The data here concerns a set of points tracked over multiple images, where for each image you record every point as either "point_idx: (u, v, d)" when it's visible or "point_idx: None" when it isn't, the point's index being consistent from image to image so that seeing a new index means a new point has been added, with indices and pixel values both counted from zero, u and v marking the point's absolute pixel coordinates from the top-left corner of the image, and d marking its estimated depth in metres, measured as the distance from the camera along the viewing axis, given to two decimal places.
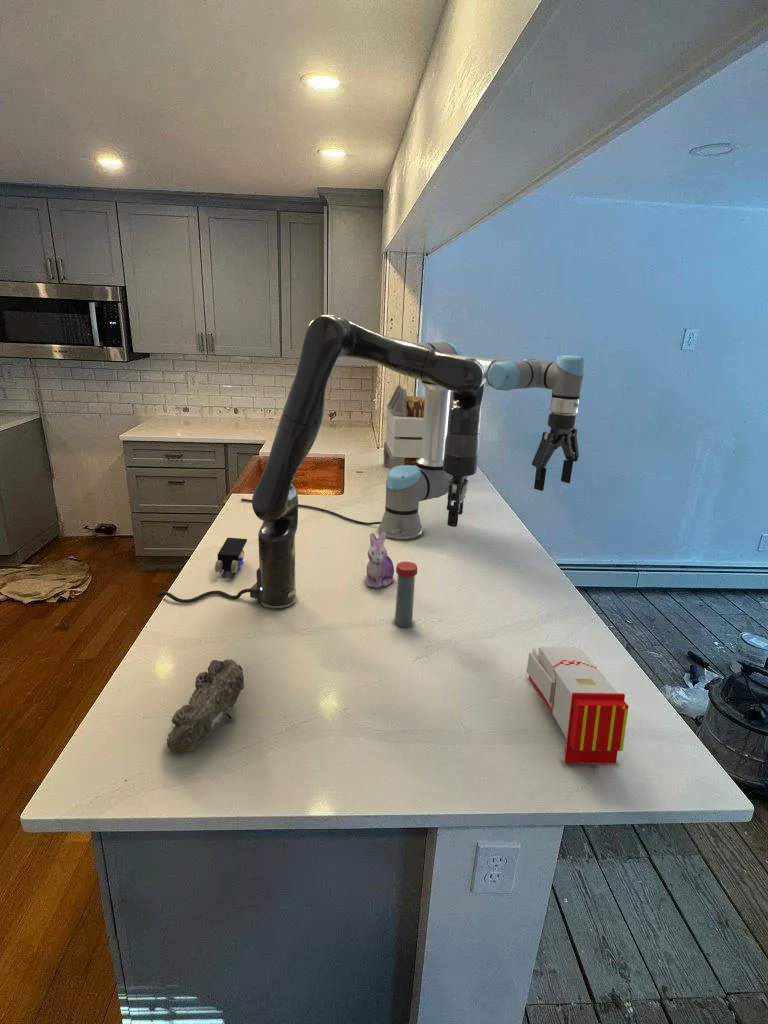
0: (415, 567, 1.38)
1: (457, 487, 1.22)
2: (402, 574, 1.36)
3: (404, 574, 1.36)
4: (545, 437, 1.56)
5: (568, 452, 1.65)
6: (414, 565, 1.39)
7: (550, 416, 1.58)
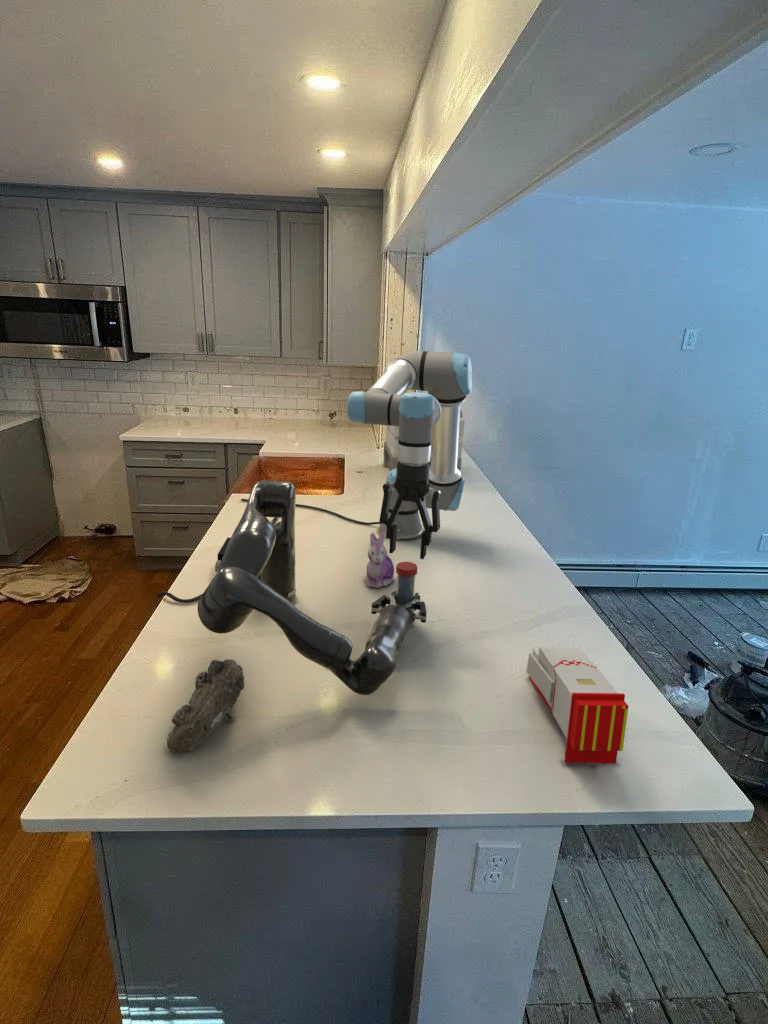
0: (415, 567, 1.38)
1: None
2: (402, 574, 1.36)
3: (404, 574, 1.36)
4: (438, 497, 1.30)
5: (398, 511, 1.35)
6: (414, 565, 1.39)
7: (424, 469, 1.27)
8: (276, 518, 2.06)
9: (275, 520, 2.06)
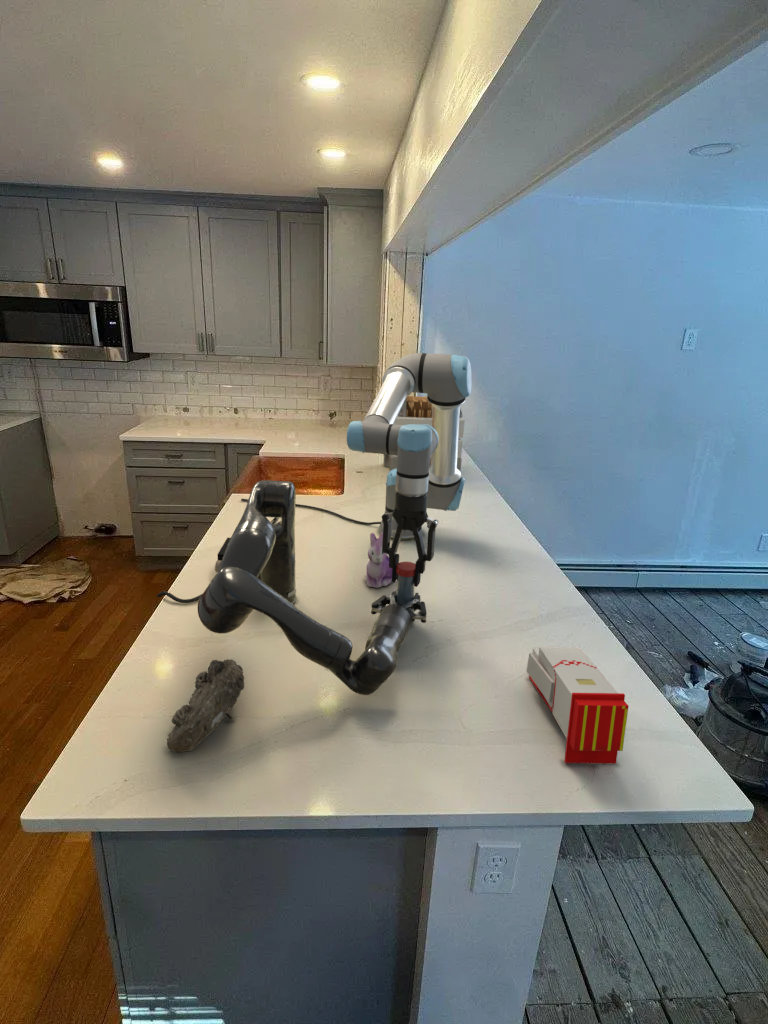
0: None
1: None
2: (402, 574, 1.36)
3: (404, 574, 1.36)
4: (435, 527, 1.32)
5: (399, 540, 1.37)
6: (414, 565, 1.39)
7: (422, 500, 1.30)
8: (276, 518, 2.06)
9: (275, 520, 2.06)
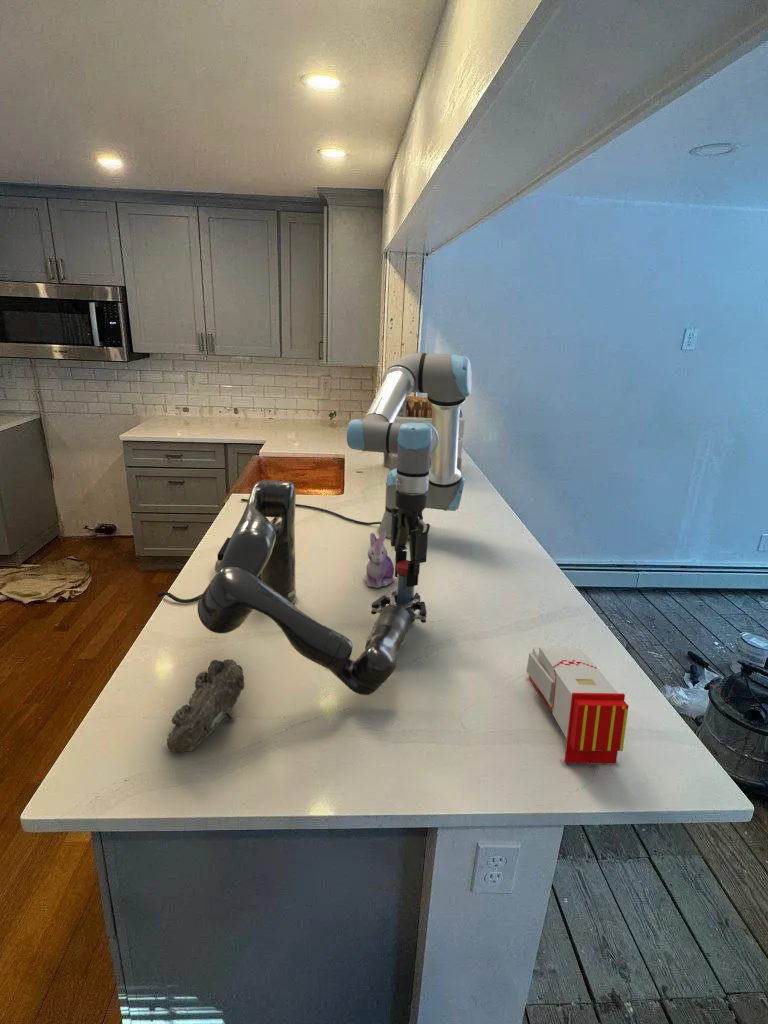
0: (402, 561, 1.40)
1: None
2: None
3: None
4: None
5: None
6: (400, 562, 1.39)
7: None
8: (276, 518, 2.06)
9: (275, 520, 2.06)
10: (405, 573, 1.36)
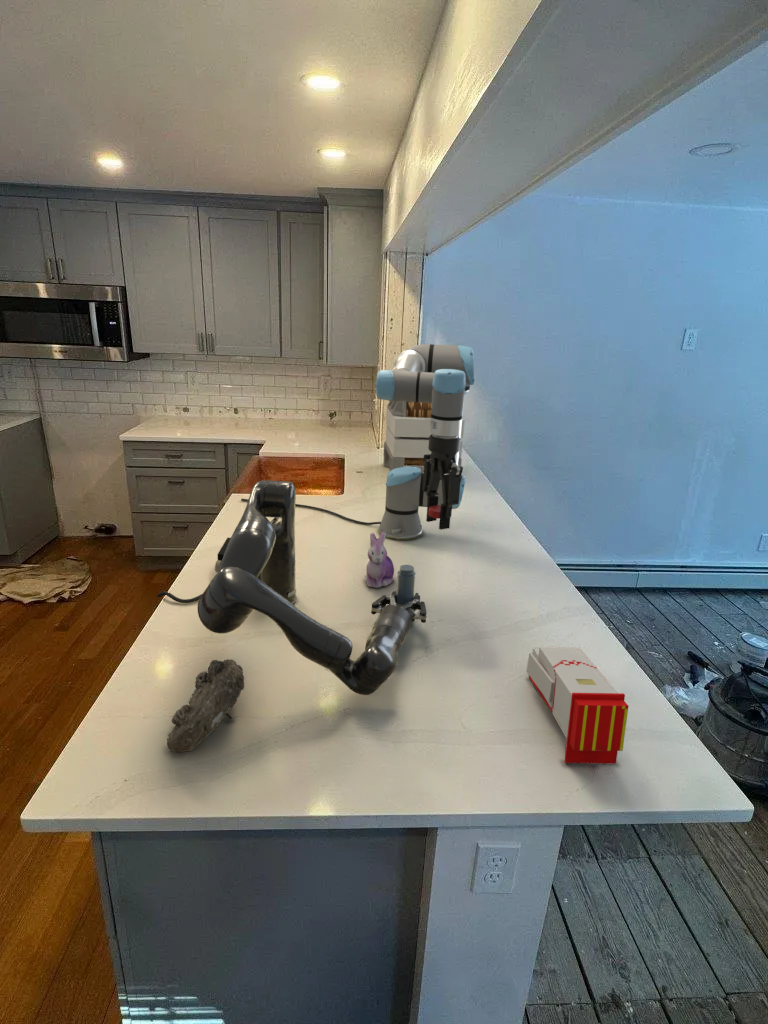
0: (434, 505, 1.45)
1: None
2: None
3: None
4: None
5: None
6: (432, 507, 1.45)
7: None
8: (276, 518, 2.06)
9: (275, 520, 2.06)
10: (437, 516, 1.42)
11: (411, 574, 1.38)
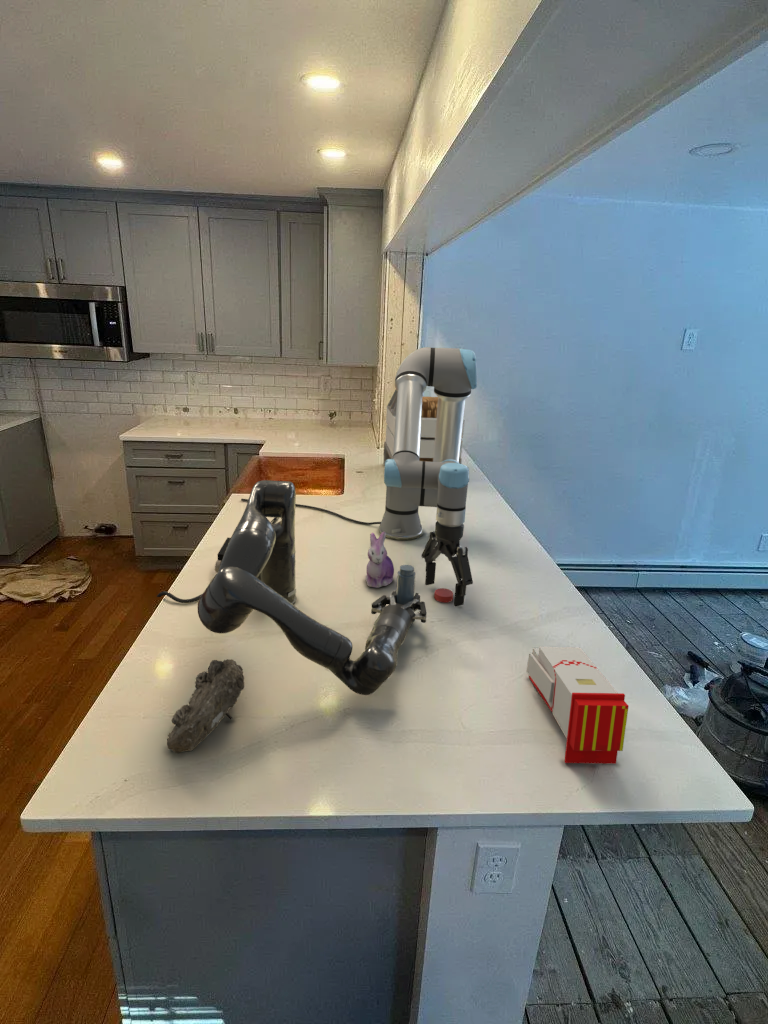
0: (439, 589, 1.58)
1: None
2: None
3: None
4: None
5: None
6: (437, 590, 1.57)
7: None
8: (276, 518, 2.06)
9: (275, 520, 2.06)
10: (443, 600, 1.54)
11: (411, 574, 1.38)
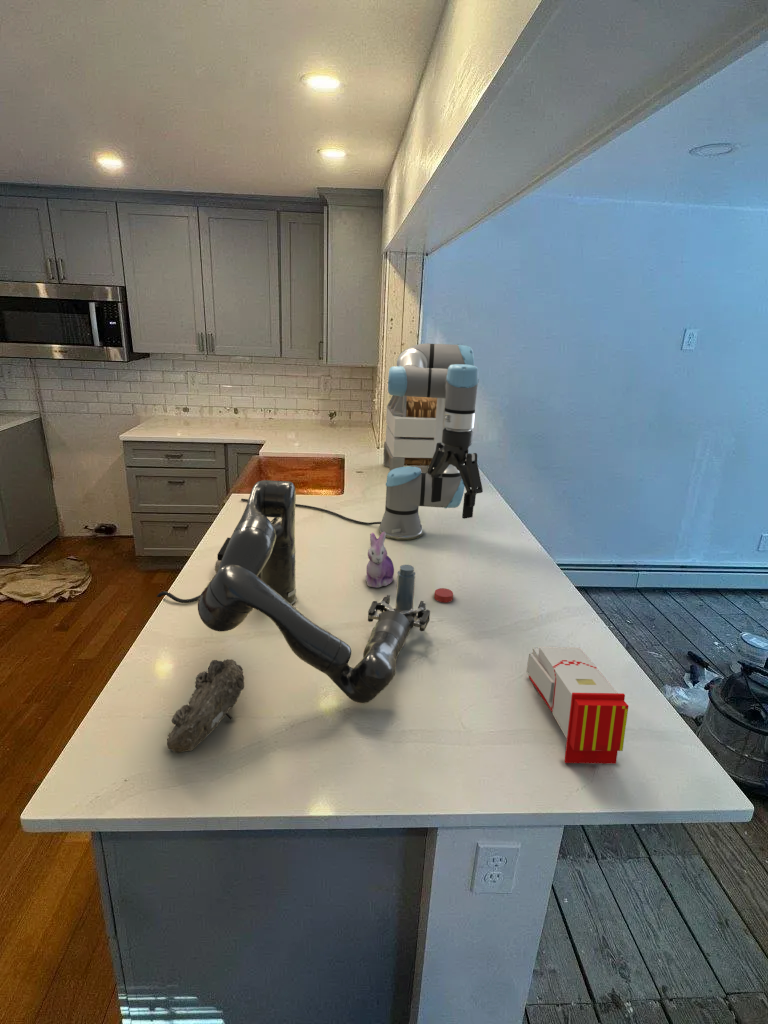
0: (439, 589, 1.58)
1: (424, 623, 1.31)
2: None
3: None
4: None
5: None
6: (437, 590, 1.57)
7: None
8: (276, 518, 2.06)
9: (275, 520, 2.06)
10: (443, 600, 1.54)
11: (411, 574, 1.38)
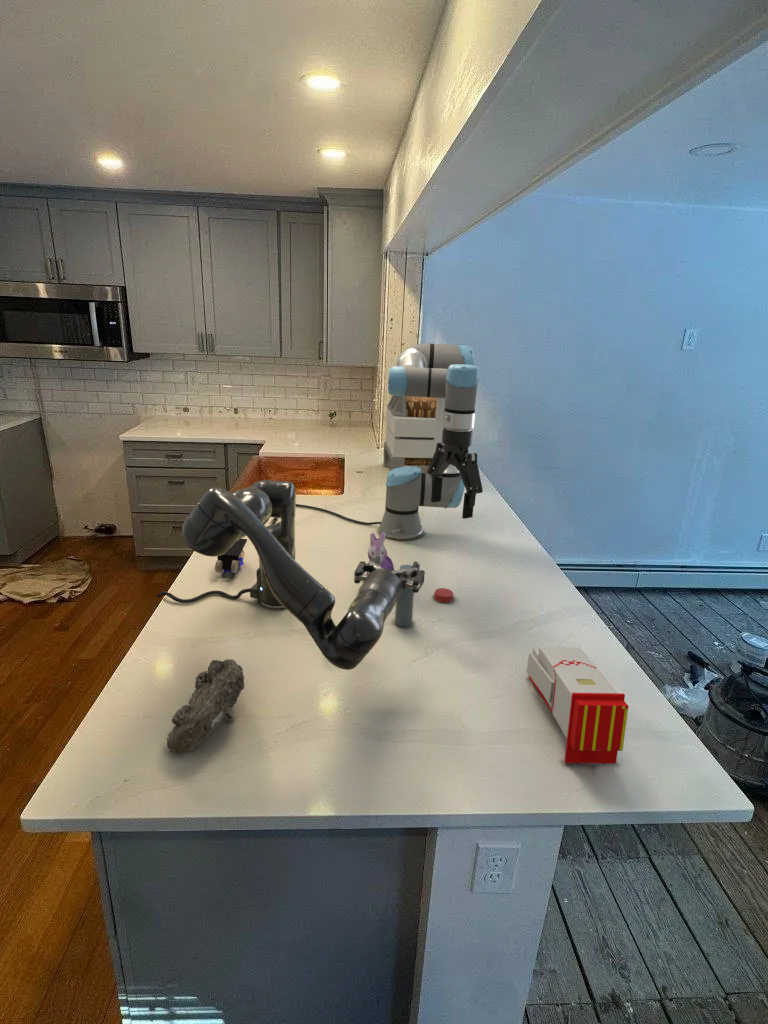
0: (439, 589, 1.58)
1: (418, 584, 1.15)
2: None
3: None
4: None
5: None
6: (437, 590, 1.57)
7: None
8: (276, 518, 2.06)
9: (275, 520, 2.06)
10: (443, 600, 1.54)
11: None
